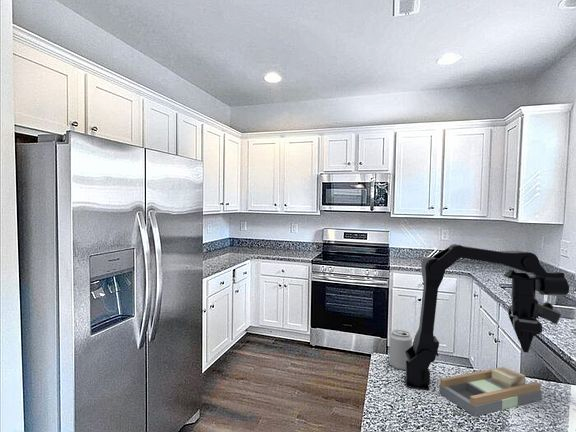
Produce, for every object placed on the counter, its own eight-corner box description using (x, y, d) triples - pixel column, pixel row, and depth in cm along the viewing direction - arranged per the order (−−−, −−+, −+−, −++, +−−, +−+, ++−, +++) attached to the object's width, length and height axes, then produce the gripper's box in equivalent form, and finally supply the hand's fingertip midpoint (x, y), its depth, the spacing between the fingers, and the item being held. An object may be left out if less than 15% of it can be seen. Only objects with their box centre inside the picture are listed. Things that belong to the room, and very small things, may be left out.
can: (413, 372, 111) (413, 336, 111) (390, 369, 112) (390, 334, 112) (409, 362, 118) (410, 329, 118) (388, 360, 120) (388, 327, 120)
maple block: (510, 390, 95) (511, 378, 95) (491, 380, 100) (491, 369, 100) (525, 387, 97) (525, 375, 97) (505, 378, 102) (505, 366, 102)
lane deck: (474, 416, 86) (475, 399, 86) (439, 393, 97) (439, 378, 97) (541, 399, 95) (541, 384, 95) (502, 380, 106) (502, 366, 106)
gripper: (566, 304, 85) (566, 364, 85) (551, 291, 101) (550, 342, 101) (514, 298, 90) (514, 355, 90) (507, 287, 107) (507, 335, 106)
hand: (523, 346), depth 97 cm, fingers open, 9 cm apart
